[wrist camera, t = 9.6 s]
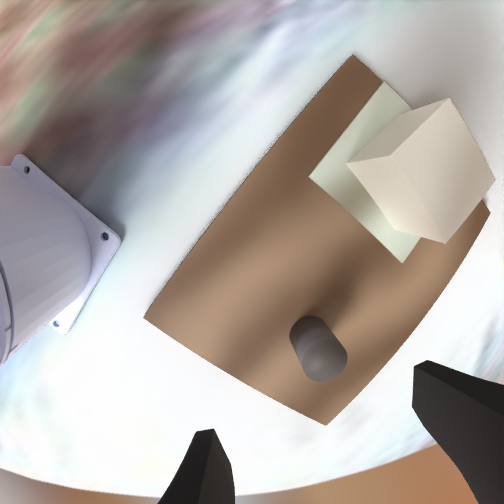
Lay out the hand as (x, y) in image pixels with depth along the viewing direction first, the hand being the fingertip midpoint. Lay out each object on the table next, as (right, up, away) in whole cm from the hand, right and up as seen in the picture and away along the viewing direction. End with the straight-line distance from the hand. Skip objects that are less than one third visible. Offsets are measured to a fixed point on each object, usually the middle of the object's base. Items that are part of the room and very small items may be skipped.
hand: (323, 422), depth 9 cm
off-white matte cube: (+6, +11, +8) cm, 14 cm away
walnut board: (+3, +5, +9) cm, 11 cm away
